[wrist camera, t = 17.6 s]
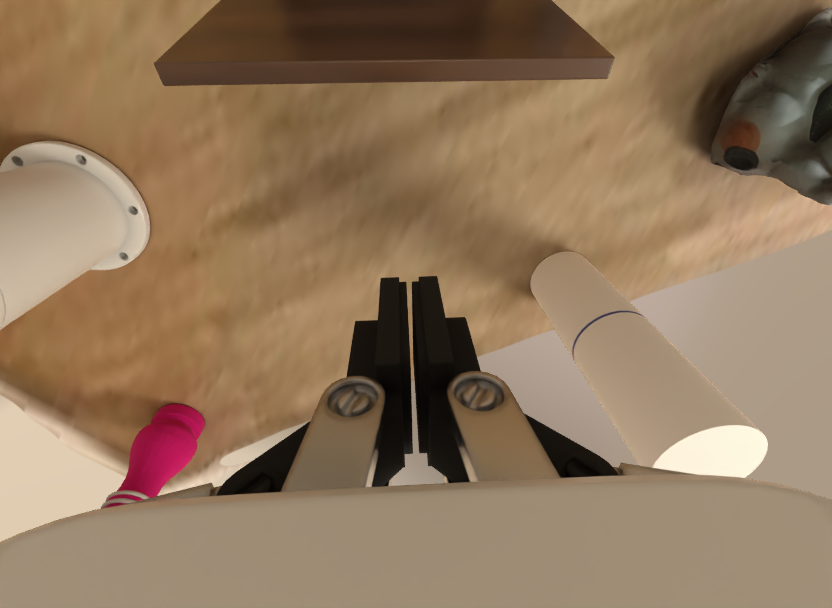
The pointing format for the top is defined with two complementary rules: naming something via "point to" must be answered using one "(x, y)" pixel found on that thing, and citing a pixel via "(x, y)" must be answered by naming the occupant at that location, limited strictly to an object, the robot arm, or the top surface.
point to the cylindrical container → (644, 376)
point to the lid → (382, 43)
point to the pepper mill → (159, 453)
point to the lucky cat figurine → (785, 115)
